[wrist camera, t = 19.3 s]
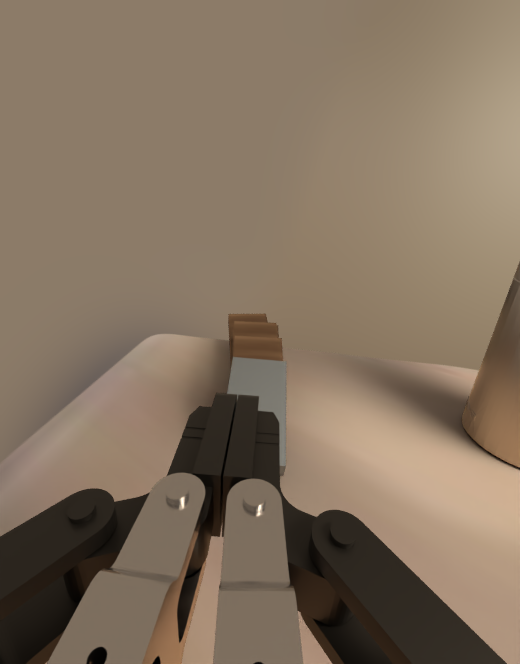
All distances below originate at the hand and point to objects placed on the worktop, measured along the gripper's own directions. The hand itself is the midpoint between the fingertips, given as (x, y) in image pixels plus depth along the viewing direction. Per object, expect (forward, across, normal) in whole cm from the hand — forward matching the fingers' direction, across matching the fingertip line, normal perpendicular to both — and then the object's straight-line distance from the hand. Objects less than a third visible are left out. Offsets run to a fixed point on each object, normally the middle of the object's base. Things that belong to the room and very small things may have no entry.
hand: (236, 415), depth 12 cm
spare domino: (+9, 0, +12) cm, 15 cm away
